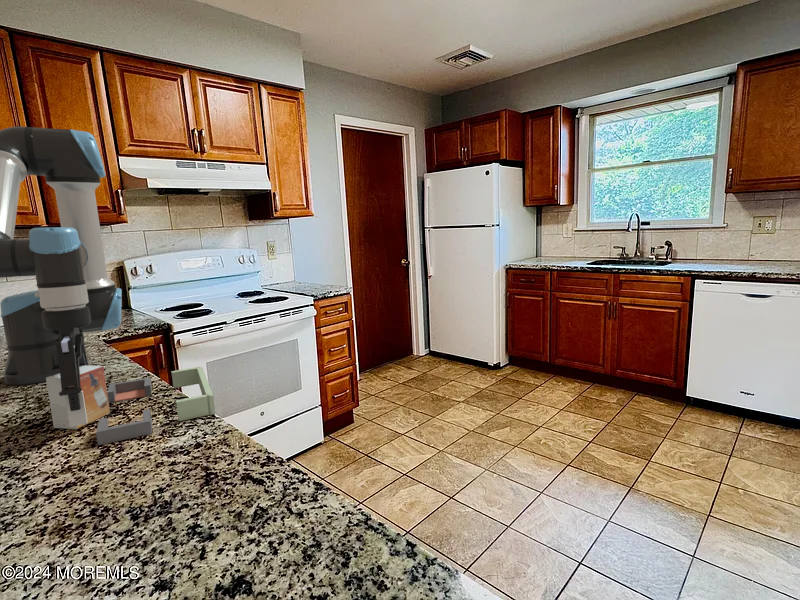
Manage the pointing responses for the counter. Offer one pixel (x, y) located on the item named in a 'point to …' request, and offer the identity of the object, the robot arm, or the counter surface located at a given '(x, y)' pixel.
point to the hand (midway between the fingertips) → (82, 415)
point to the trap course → (141, 389)
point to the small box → (92, 391)
